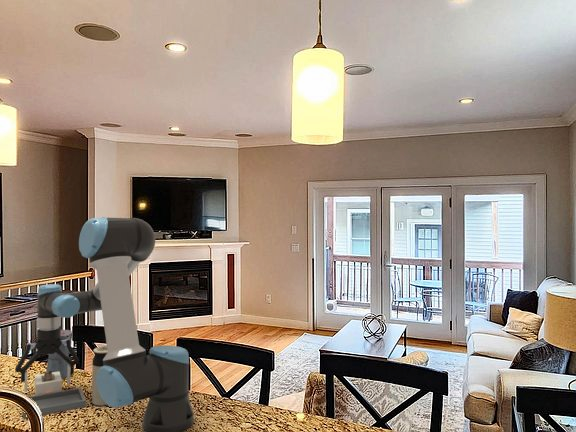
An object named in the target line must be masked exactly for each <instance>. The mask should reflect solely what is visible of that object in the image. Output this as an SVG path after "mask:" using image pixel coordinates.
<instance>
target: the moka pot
mask: <svg viewBox="0 0 576 432" xmlns="http://www.w3.org/2000/svg"><path fill="white" fill-rule="evenodd" d="M62 327H63V326H62V325H61V326H60V328H61V337H60V339H61V341H62V340H66V339H67V338H69V340H70V345H72V340H73V334H74V333H73V331H72V330H71V329H70V330H69V329H62ZM59 348H60V349H61V351H63V352H64V353H65V354H66V355H67V356H68V357H69V355H70V352H69V350H68V348H67V346H64V344H61V346H60V347H59ZM68 365H69V364H68V363H67V362H66V361H65V360H64V359H63V358H62V357H61V356H60V355H59V354H58V353H56V352H55V353H54V354H48V360H47V365H46V369H45V370H46V371H45V372H47V371H52V372H60V375H61V379H62V380H64V379H65V378H66V379H67V369H68Z"/></svg>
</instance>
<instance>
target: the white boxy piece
mask: <svg viewBox="0 0 576 432" xmlns="http://www.w3.org/2000/svg"><path fill="white" fill-rule="evenodd" d="M58 391H63V379H61V375H60V372H52V380H51V381H45V382H44V373H40V374H35V375H34V396H35V395H40V394H46V393H52V392H58Z"/></svg>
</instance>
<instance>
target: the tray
mask: <svg viewBox="0 0 576 432" xmlns="http://www.w3.org/2000/svg"><path fill="white" fill-rule="evenodd" d="M28 397H30V398H32V399H33V400H34V401H35V402H36V403H37V405H38V406H39V408H40V410H41V412H42V415H41V416H44V415H50V414H55V413H61V412H65V411H70V410H71V411H72V410H75V409H81V408H86V407H87V398H86V397H85V394H84V391H83V389H82V387H77V388H76V387H75V388H71V389H70V388H69V389H65V390H62V391H58V392H52V393H46V394H40V395H35V394H34V395H31V396H28ZM23 418H25V419H28V418H27V417H26V414H25V413H24V412H23V411H22V419H23Z"/></svg>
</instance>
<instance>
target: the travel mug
mask: <svg viewBox="0 0 576 432" xmlns="http://www.w3.org/2000/svg"><path fill="white" fill-rule="evenodd" d="M107 352H108V351H107V345H103V346H98V347H95V348H94V349H93V353H94V357H93V358H92V365H91V367H92V372H91V373H92V375H91V379H92V380H91V387H92V388H91V403H92V404H93V405H95V406H99V407H101V406H102V407H103V406H108V405H107V404H106V403H105V401H104V400H103V399H102V397H101V396H100V393H99V391H98V387H97V382H96V377H97V372H98V370H99V369H100V368H101V367H102V366H104V365H103V359H104V357H105V356H106V354H107Z"/></svg>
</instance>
